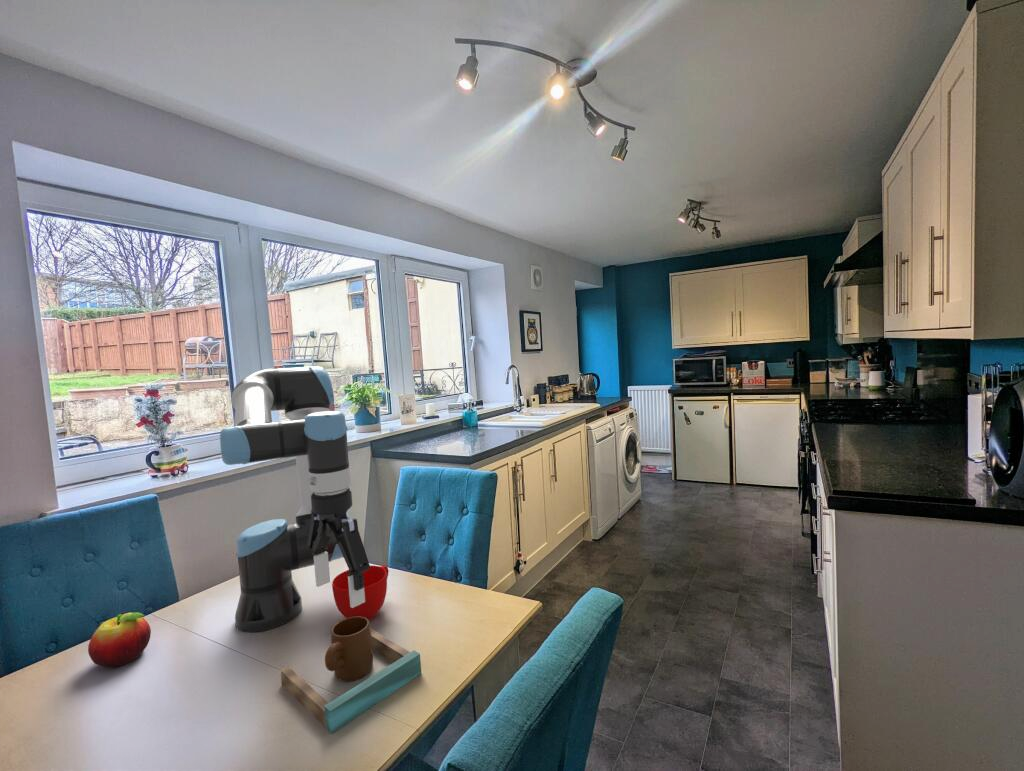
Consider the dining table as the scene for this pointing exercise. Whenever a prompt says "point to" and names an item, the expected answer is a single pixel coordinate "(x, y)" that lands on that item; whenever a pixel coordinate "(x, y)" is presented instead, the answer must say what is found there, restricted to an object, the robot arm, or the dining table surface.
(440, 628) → the dining table surface
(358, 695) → the u-shaped wooden frame
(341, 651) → the mug
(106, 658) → the fruit
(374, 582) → the red bowl
